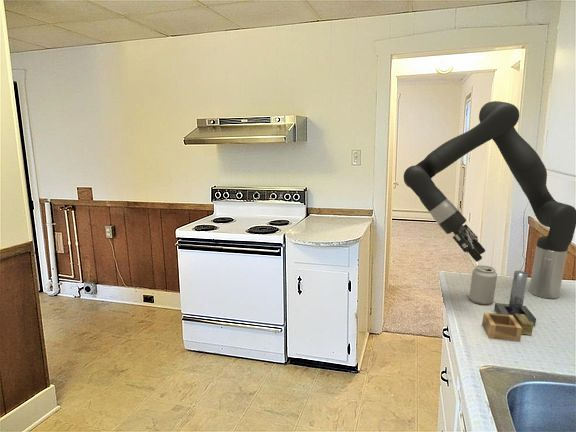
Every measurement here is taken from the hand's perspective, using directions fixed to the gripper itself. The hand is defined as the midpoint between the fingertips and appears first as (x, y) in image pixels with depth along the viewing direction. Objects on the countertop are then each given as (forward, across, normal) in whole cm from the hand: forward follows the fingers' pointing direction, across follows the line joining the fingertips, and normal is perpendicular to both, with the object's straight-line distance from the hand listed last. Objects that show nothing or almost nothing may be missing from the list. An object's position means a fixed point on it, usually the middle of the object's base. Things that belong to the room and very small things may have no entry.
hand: (481, 256), depth 130 cm
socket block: (+21, 0, +5) cm, 21 cm away
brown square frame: (+19, -13, +7) cm, 24 cm away
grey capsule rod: (+21, 0, +5) cm, 21 cm away
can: (+14, +8, +12) cm, 20 cm away
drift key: (+22, -7, +3) cm, 24 cm away
